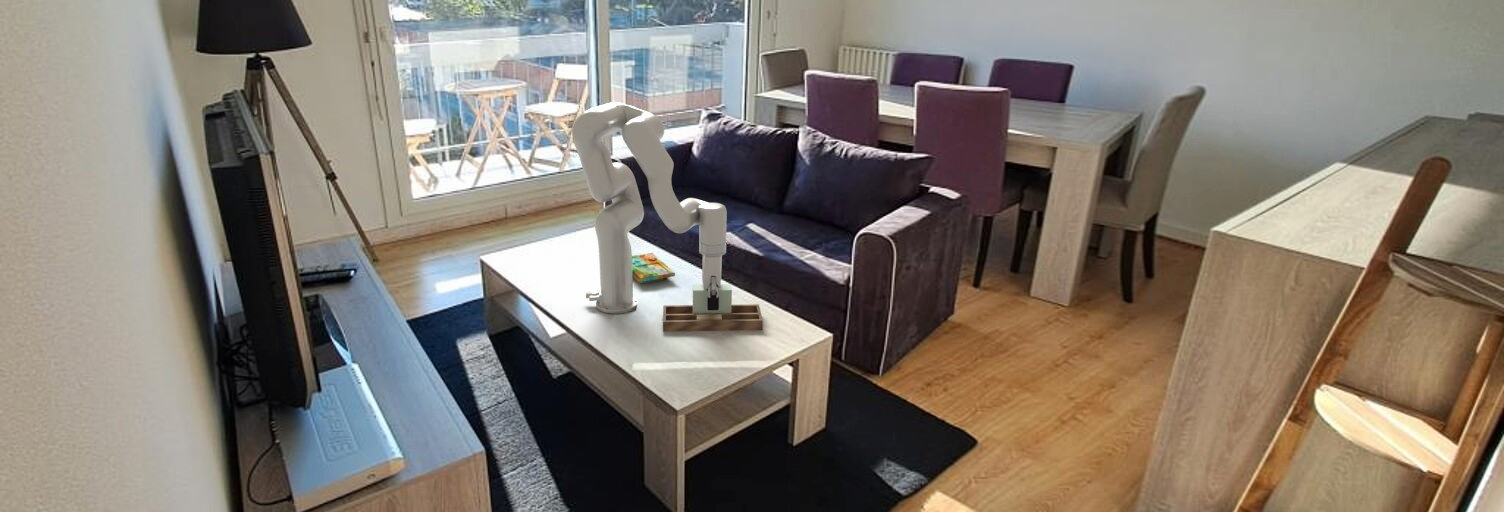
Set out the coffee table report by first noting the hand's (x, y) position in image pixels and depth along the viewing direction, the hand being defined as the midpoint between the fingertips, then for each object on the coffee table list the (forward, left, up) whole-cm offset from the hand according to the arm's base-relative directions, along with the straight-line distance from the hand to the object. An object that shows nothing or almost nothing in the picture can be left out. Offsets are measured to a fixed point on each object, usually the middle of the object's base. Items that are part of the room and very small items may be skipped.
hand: (712, 302), depth 225 cm
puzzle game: (-20, +37, -7) cm, 43 cm away
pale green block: (0, 0, -5) cm, 5 cm away
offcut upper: (-1, -5, -4) cm, 6 cm away
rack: (0, -2, -6) cm, 7 cm away
